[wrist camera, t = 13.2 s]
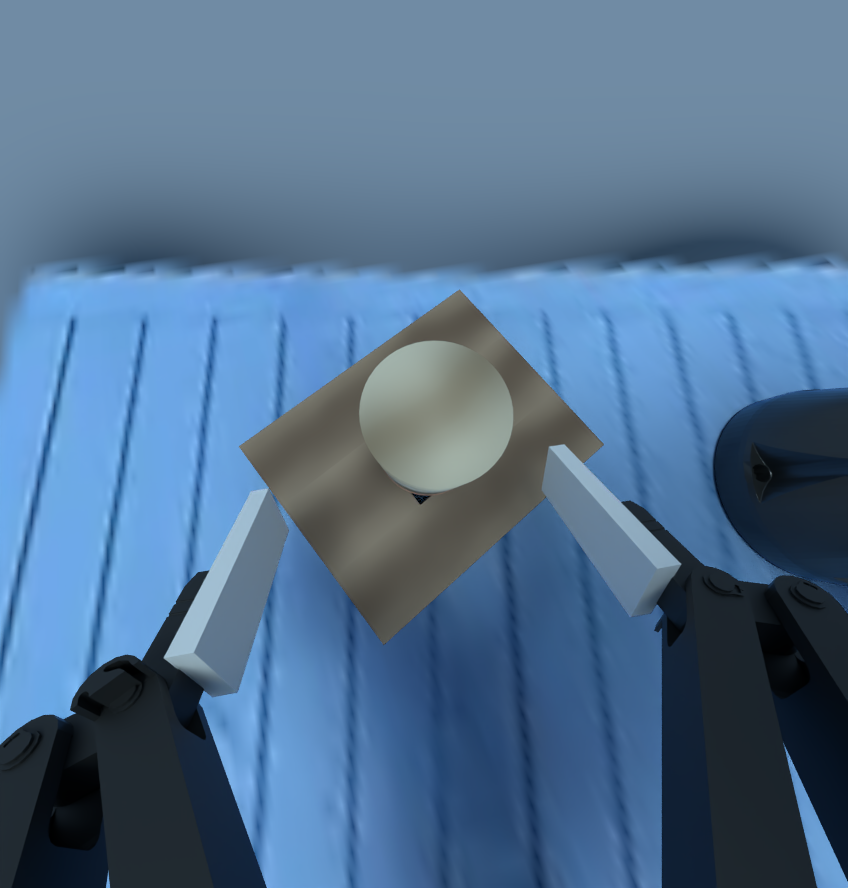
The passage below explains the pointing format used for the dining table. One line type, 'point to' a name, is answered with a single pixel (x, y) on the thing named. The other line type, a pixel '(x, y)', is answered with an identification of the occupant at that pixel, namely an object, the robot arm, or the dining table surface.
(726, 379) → the dining table surface
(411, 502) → the walnut board
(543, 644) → the dining table surface
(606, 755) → the dining table surface
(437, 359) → the ash peg
